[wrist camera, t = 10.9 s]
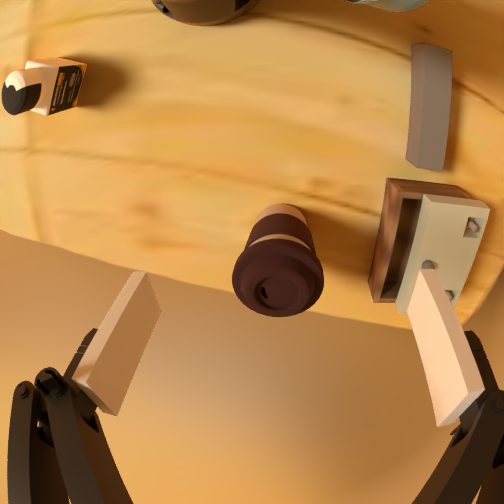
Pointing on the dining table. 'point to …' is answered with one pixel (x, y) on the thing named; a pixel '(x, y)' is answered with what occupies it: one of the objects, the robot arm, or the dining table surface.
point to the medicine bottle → (43, 86)
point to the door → (443, 244)
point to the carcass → (401, 233)
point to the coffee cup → (279, 265)
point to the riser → (429, 106)
